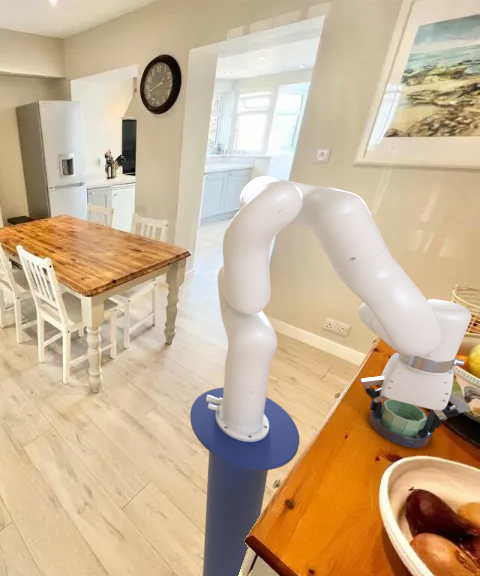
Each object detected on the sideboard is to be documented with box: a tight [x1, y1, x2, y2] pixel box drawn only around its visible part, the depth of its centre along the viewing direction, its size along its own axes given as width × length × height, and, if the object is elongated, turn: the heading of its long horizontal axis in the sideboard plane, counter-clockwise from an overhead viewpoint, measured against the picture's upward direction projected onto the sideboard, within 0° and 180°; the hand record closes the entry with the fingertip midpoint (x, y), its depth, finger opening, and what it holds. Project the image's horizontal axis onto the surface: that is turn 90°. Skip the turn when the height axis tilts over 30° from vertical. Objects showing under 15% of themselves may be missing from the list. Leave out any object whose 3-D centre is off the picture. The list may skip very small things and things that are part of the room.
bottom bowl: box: [368, 404, 433, 449], centre depth 70 cm, size 10×10×2 cm
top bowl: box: [381, 398, 428, 438], centre depth 70 cm, size 7×7×6 cm
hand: (401, 419), depth 70 cm, fingers open, 8 cm apart
